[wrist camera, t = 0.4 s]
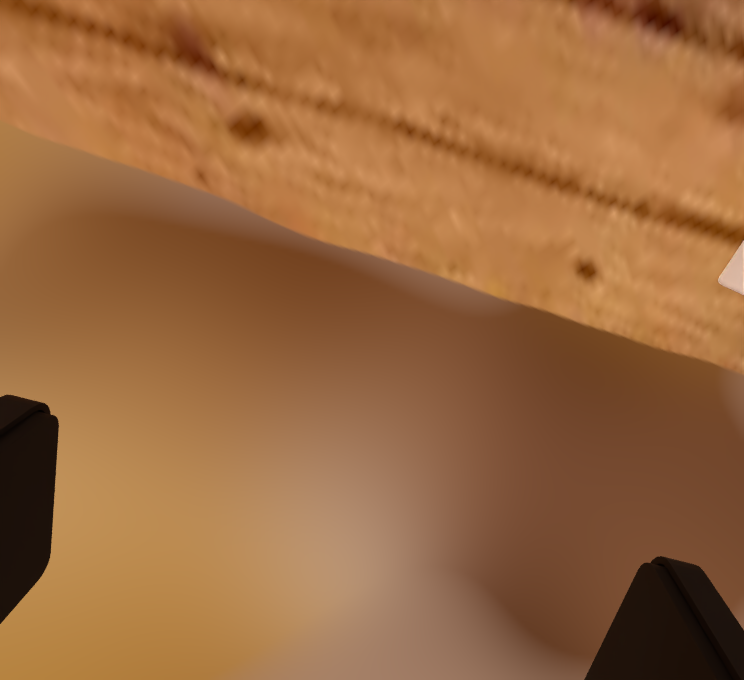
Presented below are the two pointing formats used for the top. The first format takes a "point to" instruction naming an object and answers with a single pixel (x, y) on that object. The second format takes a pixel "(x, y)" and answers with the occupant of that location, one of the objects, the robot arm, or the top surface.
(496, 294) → the top surface
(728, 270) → the medicine bottle
